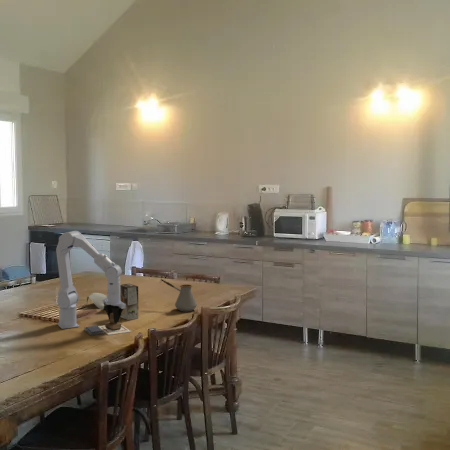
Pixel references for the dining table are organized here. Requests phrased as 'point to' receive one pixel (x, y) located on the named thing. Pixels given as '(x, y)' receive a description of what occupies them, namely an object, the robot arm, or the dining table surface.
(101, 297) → the sculpture
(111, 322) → the stamp
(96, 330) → the ink pad
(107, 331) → the sheet
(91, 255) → the robot arm
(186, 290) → the coffee pot
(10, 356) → the dining table surface
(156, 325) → the dining table surface
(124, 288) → the coffee box
